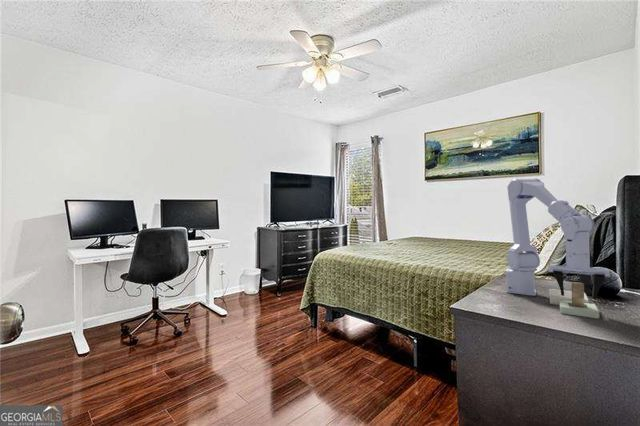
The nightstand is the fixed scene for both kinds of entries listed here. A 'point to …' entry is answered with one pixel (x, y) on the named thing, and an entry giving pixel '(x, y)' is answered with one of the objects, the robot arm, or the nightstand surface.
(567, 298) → the tray
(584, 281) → the magazine
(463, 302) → the nightstand surface
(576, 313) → the holder
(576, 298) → the dowel
